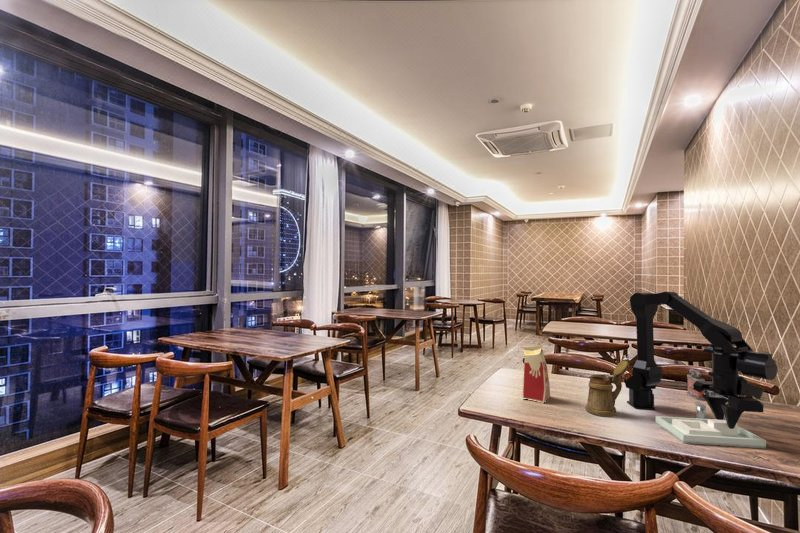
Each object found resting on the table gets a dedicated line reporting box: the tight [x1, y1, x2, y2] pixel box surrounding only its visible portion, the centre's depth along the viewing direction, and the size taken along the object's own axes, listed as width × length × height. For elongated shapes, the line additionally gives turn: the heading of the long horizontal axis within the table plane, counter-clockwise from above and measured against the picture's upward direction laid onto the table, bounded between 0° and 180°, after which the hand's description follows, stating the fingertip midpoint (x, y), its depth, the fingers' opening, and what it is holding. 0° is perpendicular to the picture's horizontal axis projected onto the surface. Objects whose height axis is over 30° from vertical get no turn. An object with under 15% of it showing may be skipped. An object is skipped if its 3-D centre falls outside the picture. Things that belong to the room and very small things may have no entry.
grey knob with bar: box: [694, 401, 707, 419], centre depth 116 cm, size 2×3×5 cm
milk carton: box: [521, 344, 551, 404], centre depth 136 cm, size 9×9×20 cm
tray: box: [655, 415, 767, 450], centre depth 105 cm, size 20×14×2 cm
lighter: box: [686, 368, 706, 402], centre depth 138 cm, size 8×3×10 cm, turn 168°
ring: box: [672, 418, 738, 436], centre depth 105 cm, size 14×8×4 cm, turn 82°
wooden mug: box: [585, 358, 631, 418], centre depth 122 cm, size 9×14×18 cm, turn 81°
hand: (725, 425), depth 104 cm, fingers open, 4 cm apart
